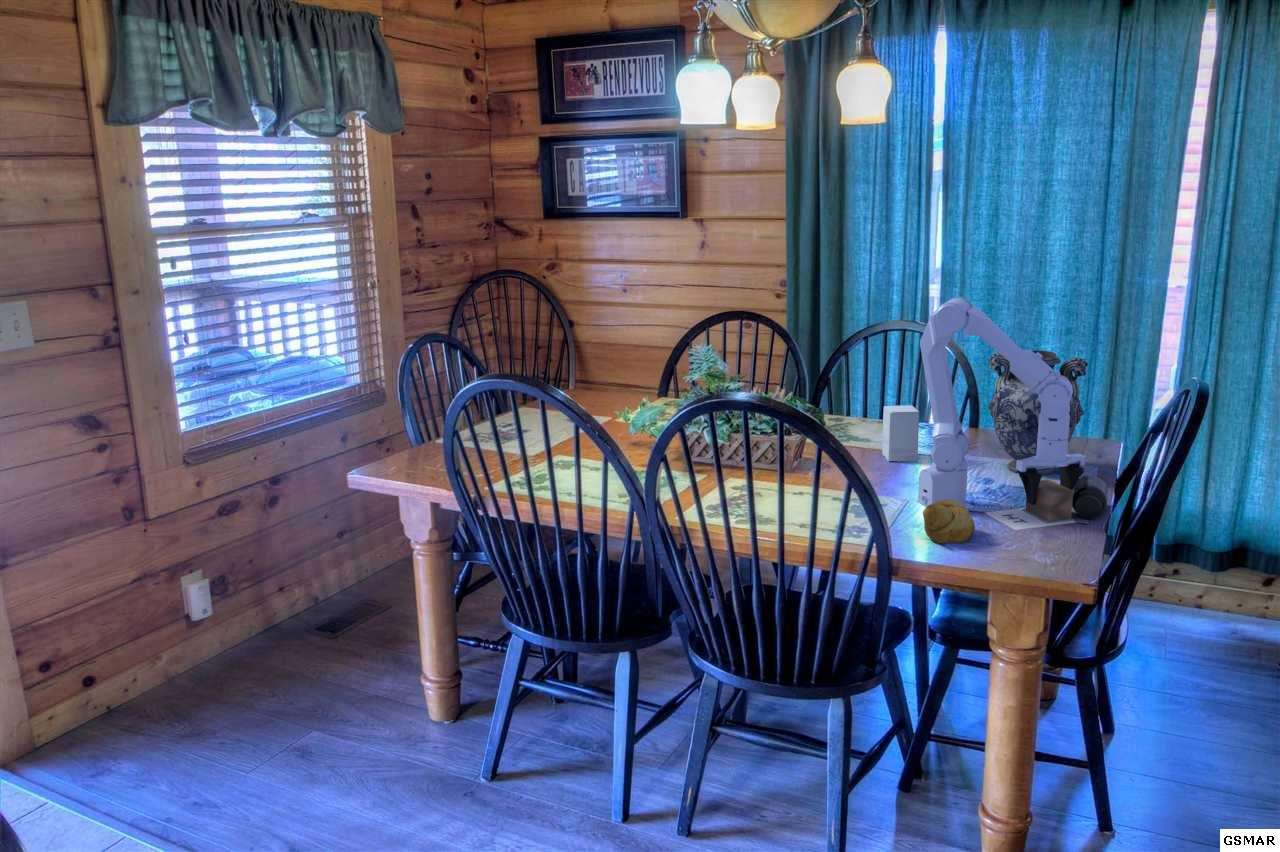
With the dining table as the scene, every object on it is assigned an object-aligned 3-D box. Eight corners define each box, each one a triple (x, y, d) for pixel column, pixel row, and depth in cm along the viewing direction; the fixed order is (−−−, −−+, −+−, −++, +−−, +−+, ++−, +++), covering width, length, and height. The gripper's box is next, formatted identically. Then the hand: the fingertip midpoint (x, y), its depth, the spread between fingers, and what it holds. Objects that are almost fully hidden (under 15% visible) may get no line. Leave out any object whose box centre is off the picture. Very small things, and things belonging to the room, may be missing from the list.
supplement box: (918, 461, 253) (920, 411, 250) (887, 462, 253) (889, 412, 250) (911, 453, 260) (912, 404, 257) (881, 454, 260) (883, 405, 257)
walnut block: (1049, 521, 206) (1051, 493, 204) (1025, 509, 214) (1027, 481, 212) (1071, 519, 207) (1073, 490, 206) (1046, 506, 215) (1048, 479, 213)
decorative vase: (1081, 462, 248) (1089, 347, 240) (1078, 485, 231) (1086, 363, 224) (988, 454, 256) (993, 344, 249) (979, 476, 240) (984, 358, 233)
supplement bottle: (1066, 495, 219) (1062, 512, 208) (1083, 468, 216) (1080, 484, 206) (1097, 511, 217) (1095, 529, 207) (1114, 485, 214) (1113, 501, 204)
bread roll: (924, 523, 210) (926, 486, 208) (974, 527, 207) (976, 489, 205) (920, 545, 198) (922, 506, 196) (973, 550, 195) (975, 510, 193)
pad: (1047, 523, 206) (1047, 522, 206) (1021, 510, 214) (1022, 508, 214) (1073, 520, 207) (1073, 519, 207) (1047, 507, 215) (1047, 505, 215)
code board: (1014, 532, 203) (1015, 529, 203) (984, 515, 213) (984, 512, 213) (1077, 525, 206) (1077, 522, 206) (1043, 508, 217) (1043, 505, 216)
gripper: (1032, 445, 201) (1028, 511, 204) (1097, 438, 204) (1091, 503, 208) (1011, 436, 208) (1007, 500, 211) (1074, 430, 211) (1069, 493, 214)
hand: (1047, 501), depth 210 cm, fingers open, 7 cm apart
